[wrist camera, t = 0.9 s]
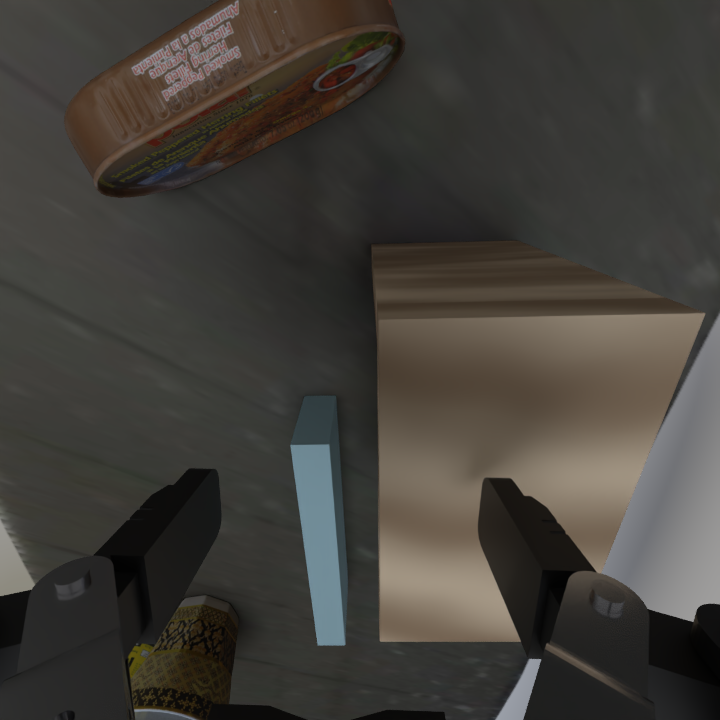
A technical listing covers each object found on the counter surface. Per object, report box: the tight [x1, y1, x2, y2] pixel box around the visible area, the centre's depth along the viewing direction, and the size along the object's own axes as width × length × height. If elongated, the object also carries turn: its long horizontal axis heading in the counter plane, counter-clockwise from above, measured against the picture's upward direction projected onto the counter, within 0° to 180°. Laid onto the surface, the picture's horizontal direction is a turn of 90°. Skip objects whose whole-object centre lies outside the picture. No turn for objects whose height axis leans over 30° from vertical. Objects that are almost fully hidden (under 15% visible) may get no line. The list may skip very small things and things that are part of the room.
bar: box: [291, 395, 348, 645], centre depth 30 cm, size 22×2×6 cm, turn 2°
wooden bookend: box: [371, 240, 705, 642], centre depth 20 cm, size 16×9×14 cm, turn 1°
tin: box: [64, 0, 405, 198], centre depth 16 cm, size 15×3×8 cm, turn 112°
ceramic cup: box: [131, 595, 239, 720], centre depth 36 cm, size 13×10×10 cm
